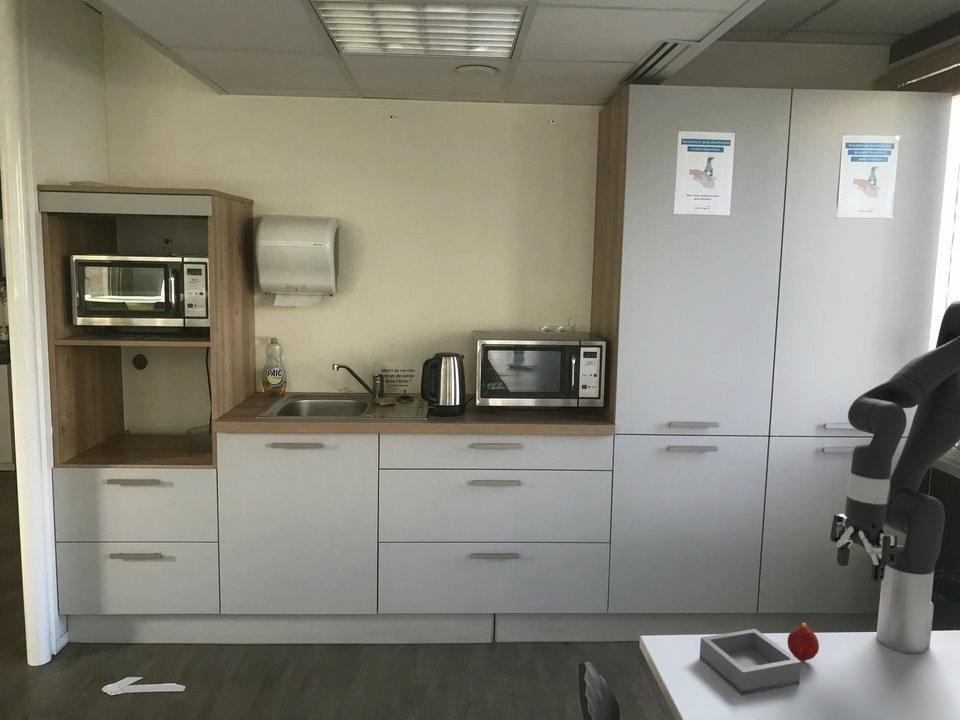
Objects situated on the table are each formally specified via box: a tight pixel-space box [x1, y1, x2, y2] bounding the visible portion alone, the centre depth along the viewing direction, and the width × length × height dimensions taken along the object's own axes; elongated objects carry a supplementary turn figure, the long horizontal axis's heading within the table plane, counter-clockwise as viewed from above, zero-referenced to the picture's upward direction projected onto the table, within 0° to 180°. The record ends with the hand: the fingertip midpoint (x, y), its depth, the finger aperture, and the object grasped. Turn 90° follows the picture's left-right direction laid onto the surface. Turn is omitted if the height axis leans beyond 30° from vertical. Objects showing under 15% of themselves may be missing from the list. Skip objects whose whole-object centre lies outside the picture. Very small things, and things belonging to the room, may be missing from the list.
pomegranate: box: [787, 622, 820, 662], centre depth 145 cm, size 6×6×8 cm
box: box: [699, 628, 802, 696], centre depth 141 cm, size 13×13×4 cm
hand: (858, 573), depth 147 cm, fingers open, 8 cm apart
